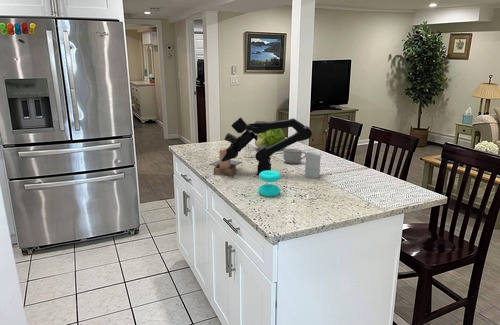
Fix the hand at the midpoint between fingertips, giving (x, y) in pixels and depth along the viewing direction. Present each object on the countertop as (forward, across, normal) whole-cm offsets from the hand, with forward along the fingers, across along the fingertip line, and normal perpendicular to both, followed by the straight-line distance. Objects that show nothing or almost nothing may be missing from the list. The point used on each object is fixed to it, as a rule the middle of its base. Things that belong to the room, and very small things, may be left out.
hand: (223, 158), depth 202 cm
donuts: (-14, +29, +24) cm, 40 cm away
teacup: (-22, -26, +32) cm, 47 cm away
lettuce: (-9, -58, +20) cm, 62 cm away
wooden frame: (+5, 0, +6) cm, 8 cm away
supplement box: (-28, -2, +39) cm, 48 cm away
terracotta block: (+5, 0, +6) cm, 8 cm away
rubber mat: (+7, -17, +4) cm, 19 cm away
